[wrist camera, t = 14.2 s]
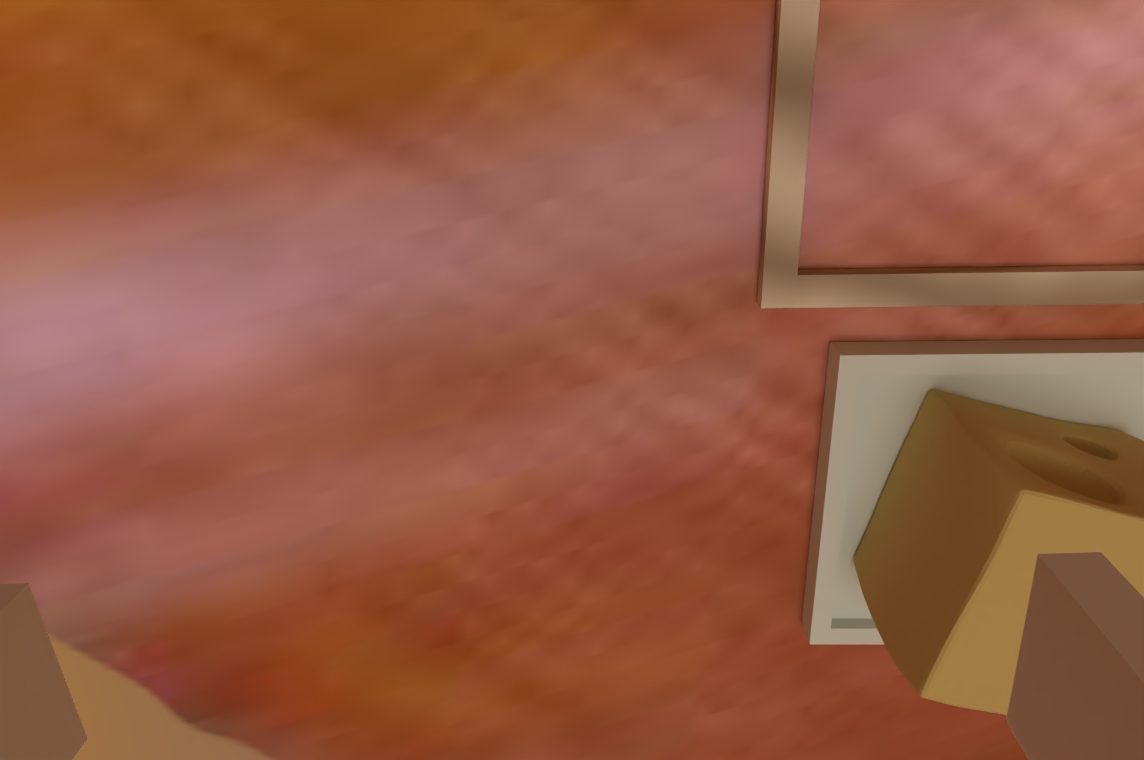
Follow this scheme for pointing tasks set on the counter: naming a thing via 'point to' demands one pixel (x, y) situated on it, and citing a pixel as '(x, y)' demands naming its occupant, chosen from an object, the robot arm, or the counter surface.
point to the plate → (888, 411)
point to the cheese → (989, 537)
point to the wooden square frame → (882, 285)
